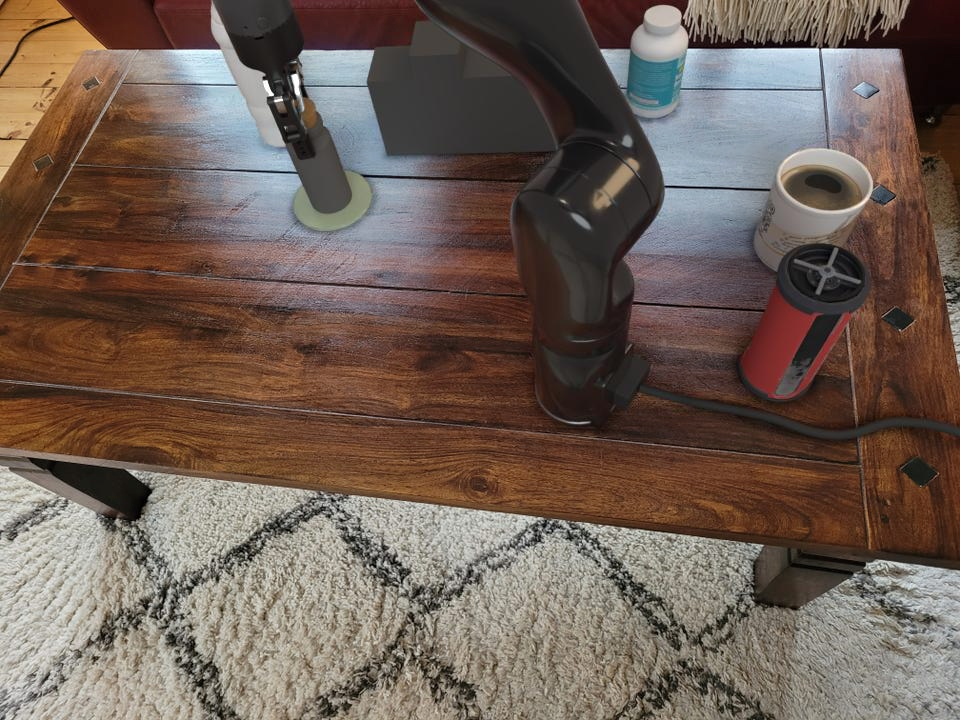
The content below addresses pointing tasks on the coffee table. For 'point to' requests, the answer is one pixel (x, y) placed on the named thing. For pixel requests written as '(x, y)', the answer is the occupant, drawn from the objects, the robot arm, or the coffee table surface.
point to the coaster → (338, 219)
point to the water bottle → (248, 85)
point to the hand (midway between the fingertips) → (306, 134)
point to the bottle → (321, 166)
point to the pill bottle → (657, 62)
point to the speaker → (803, 319)
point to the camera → (450, 100)
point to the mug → (812, 203)
